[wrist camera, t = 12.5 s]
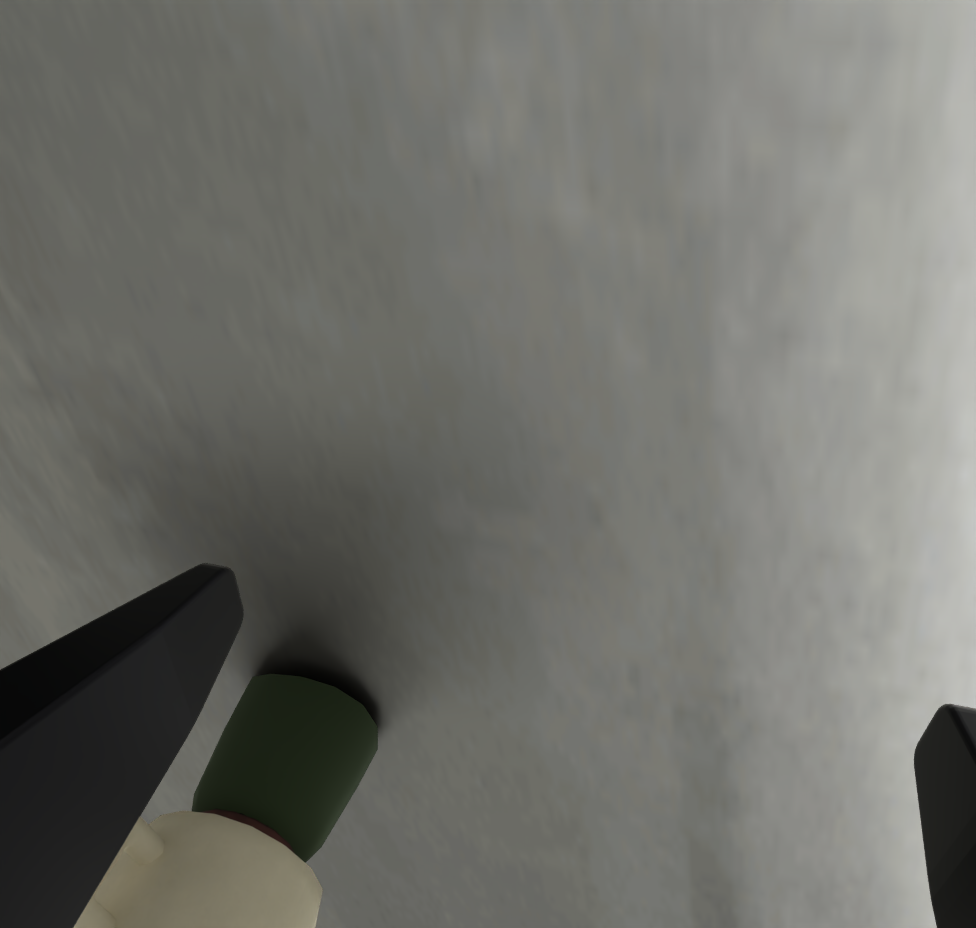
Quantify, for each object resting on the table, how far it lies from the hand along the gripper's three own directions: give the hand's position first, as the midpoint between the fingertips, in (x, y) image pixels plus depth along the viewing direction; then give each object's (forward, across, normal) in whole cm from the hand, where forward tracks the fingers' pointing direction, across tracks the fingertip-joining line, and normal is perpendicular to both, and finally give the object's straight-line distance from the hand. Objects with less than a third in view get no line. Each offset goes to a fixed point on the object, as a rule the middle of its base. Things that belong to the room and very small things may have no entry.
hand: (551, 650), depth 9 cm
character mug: (+11, +11, +19) cm, 25 cm away
